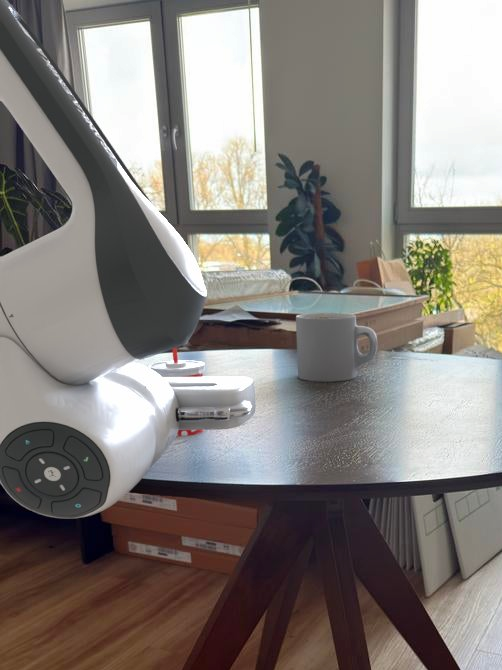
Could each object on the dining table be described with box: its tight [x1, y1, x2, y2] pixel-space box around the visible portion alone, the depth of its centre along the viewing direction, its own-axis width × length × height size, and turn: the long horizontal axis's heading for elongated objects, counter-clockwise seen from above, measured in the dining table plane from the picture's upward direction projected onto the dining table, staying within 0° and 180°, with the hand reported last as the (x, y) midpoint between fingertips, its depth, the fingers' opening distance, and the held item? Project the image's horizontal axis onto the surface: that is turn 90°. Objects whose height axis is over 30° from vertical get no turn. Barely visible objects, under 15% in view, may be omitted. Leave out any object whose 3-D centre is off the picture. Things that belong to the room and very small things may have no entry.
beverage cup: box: [146, 347, 206, 437], centre depth 80 cm, size 6×6×14 cm
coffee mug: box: [295, 312, 379, 383], centre depth 121 cm, size 13×10×10 cm
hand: (162, 385), depth 74 cm, fingers open, 8 cm apart
